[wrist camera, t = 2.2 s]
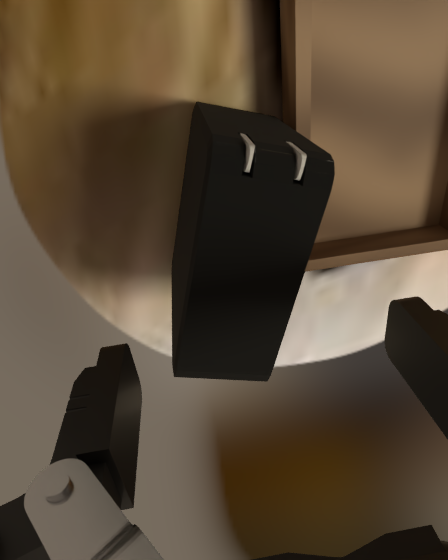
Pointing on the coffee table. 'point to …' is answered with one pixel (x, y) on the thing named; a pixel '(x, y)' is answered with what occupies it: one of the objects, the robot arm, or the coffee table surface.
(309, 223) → the electronic device
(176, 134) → the coffee table surface
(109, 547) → the robot arm
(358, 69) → the trough
